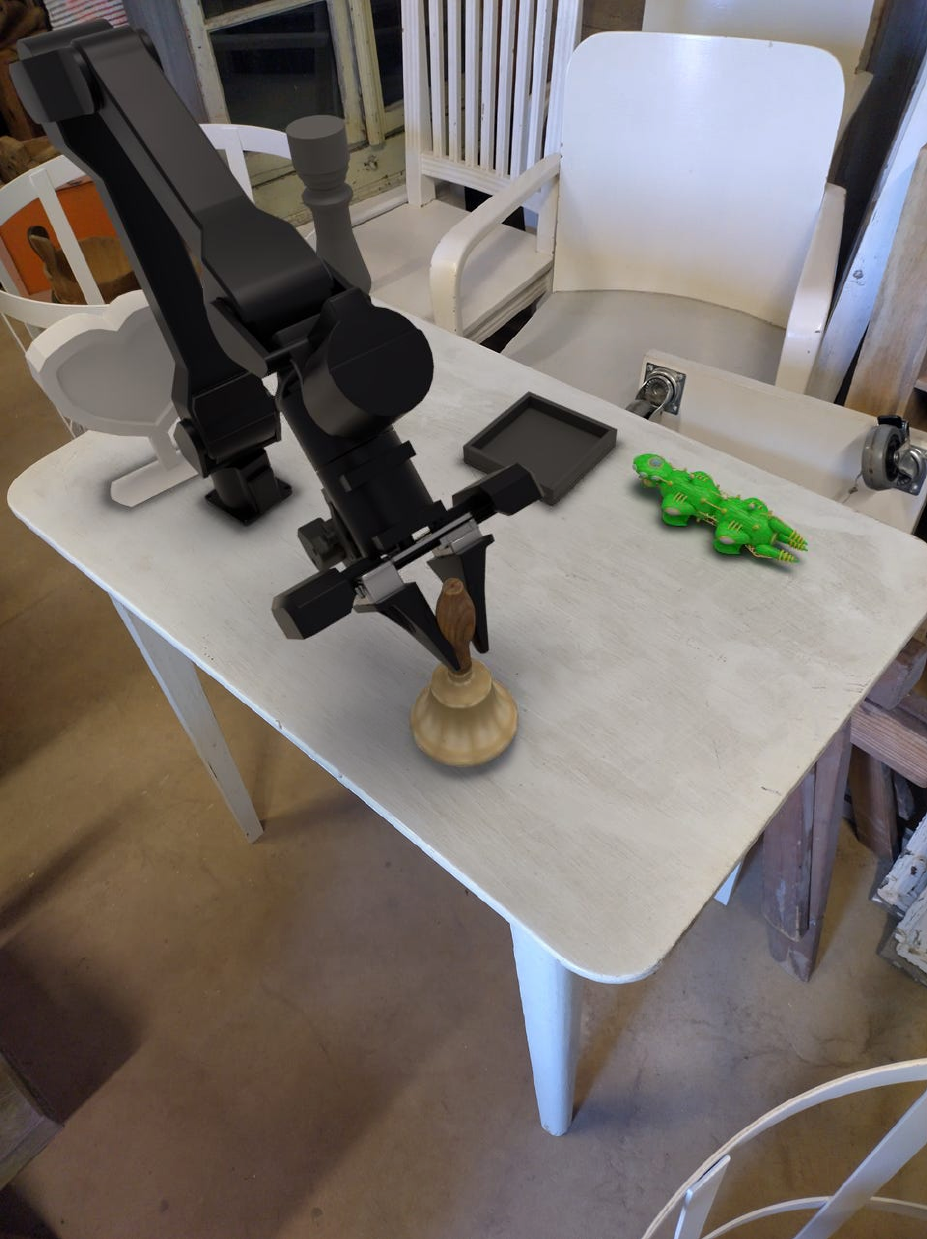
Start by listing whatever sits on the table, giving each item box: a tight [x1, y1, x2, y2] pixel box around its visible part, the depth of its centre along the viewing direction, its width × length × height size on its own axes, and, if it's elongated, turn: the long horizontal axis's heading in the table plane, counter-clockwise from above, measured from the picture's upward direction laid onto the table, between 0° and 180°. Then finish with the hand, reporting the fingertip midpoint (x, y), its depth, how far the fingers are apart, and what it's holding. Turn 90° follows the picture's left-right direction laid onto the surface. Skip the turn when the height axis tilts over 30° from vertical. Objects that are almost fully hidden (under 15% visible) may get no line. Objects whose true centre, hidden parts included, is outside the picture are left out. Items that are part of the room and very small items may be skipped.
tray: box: [462, 391, 619, 507], centre depth 83 cm, size 11×11×2 cm
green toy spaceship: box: [631, 452, 809, 564], centre depth 75 cm, size 7×18×4 cm, turn 47°
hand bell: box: [409, 578, 519, 768], centre depth 56 cm, size 8×8×16 cm
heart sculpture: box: [24, 289, 199, 508], centre depth 79 cm, size 16×5×18 cm, turn 128°
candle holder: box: [284, 114, 372, 295], centre depth 87 cm, size 6×6×25 cm
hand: (470, 661), depth 55 cm, fingers closed on hand bell
